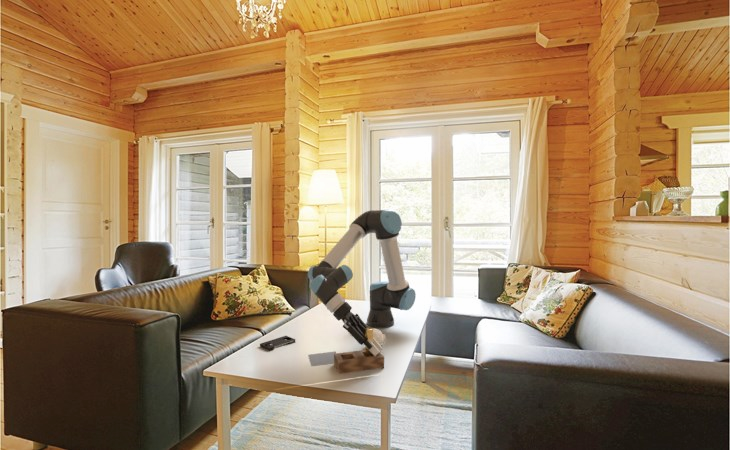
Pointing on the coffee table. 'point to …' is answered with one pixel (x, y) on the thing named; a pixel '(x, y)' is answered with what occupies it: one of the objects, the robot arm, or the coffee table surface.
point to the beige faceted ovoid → (378, 336)
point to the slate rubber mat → (322, 358)
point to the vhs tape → (277, 343)
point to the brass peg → (370, 336)
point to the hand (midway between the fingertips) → (378, 352)
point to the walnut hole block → (357, 361)
